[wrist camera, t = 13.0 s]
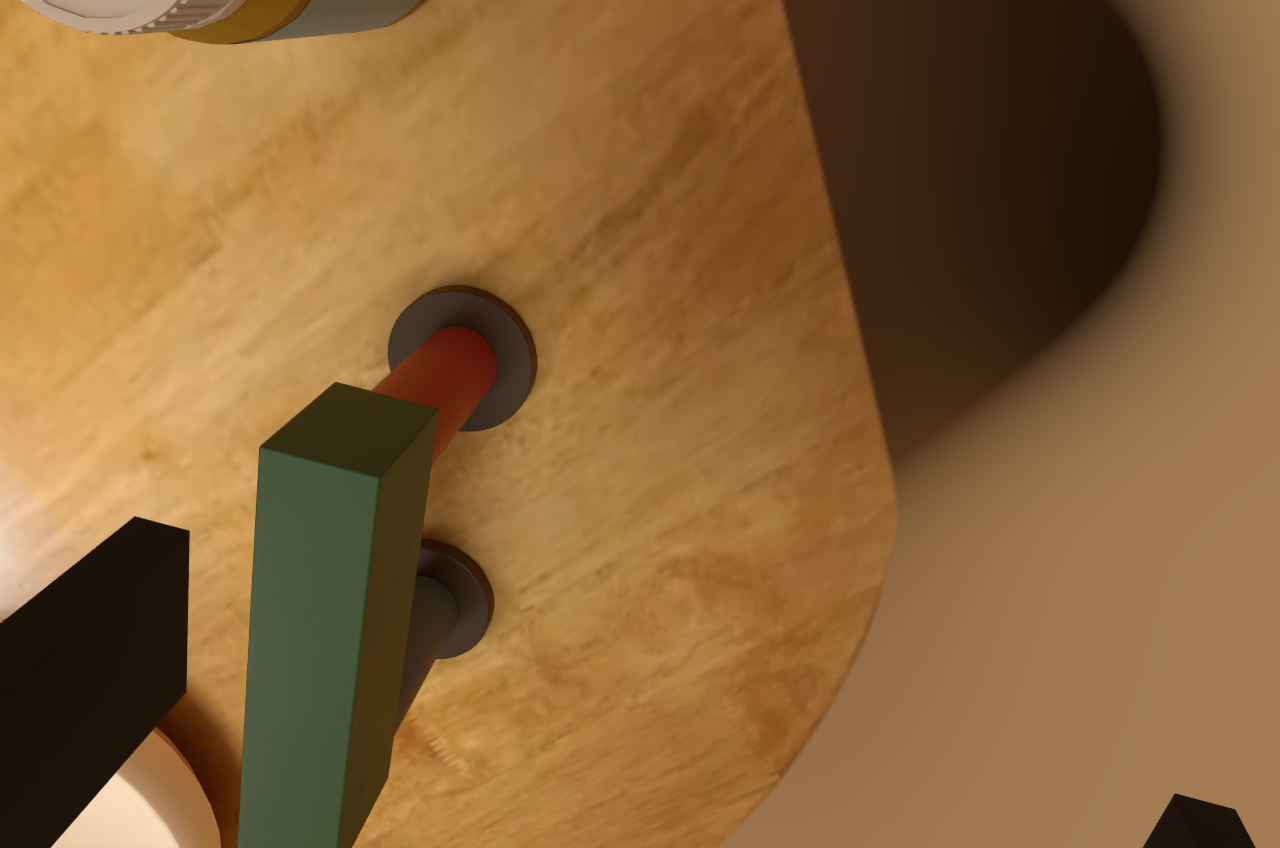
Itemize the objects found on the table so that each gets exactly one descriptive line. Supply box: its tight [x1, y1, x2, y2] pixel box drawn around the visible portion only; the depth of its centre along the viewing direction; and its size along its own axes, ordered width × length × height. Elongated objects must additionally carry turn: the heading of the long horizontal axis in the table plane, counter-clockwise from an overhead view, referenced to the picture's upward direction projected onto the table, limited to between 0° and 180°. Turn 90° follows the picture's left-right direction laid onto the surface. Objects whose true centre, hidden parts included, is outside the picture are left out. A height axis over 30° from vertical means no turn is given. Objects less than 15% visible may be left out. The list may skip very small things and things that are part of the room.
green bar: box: [237, 382, 439, 848], centre depth 33 cm, size 4×16×5 cm, turn 168°
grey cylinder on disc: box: [394, 539, 494, 736], centre depth 42 cm, size 6×6×9 cm
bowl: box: [51, 727, 221, 848], centre depth 51 cm, size 20×20×6 cm
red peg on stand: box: [372, 286, 537, 466], centre depth 37 cm, size 6×6×9 cm
